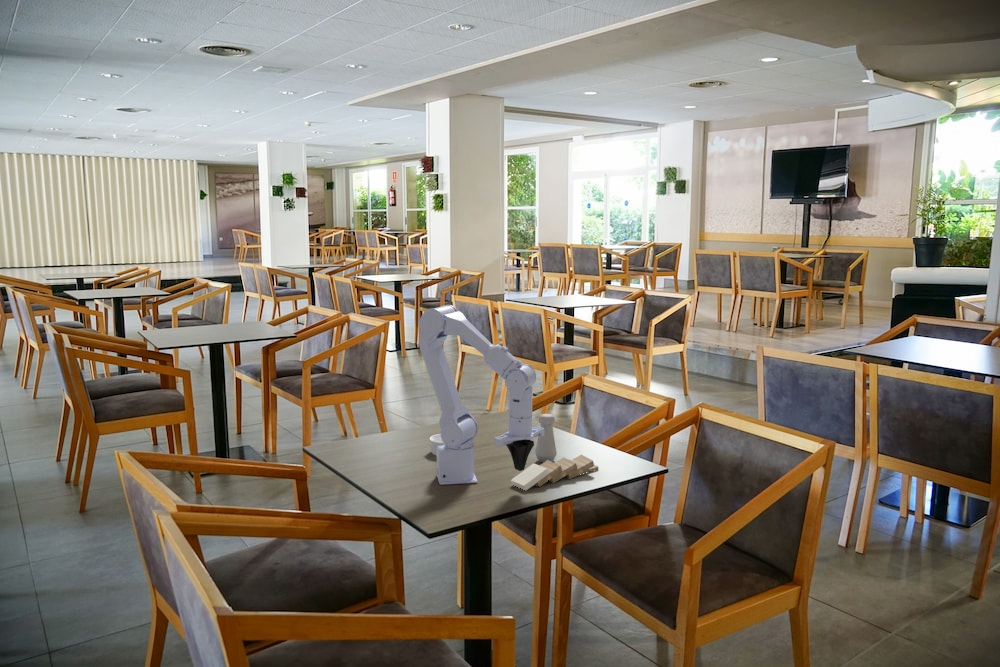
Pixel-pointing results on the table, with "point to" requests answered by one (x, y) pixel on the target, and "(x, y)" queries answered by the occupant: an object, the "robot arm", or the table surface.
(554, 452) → the salt shaker
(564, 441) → the table surface
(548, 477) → the domino
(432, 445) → the ramekin
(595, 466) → the domino
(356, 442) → the table surface
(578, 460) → the domino
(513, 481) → the front domino
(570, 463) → the domino
